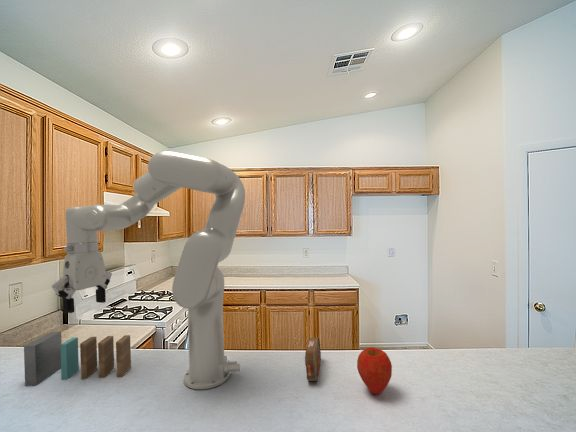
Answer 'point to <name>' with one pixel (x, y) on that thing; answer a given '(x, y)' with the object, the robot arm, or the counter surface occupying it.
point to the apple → (374, 369)
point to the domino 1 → (69, 358)
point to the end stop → (42, 358)
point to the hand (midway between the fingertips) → (85, 307)
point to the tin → (313, 359)
